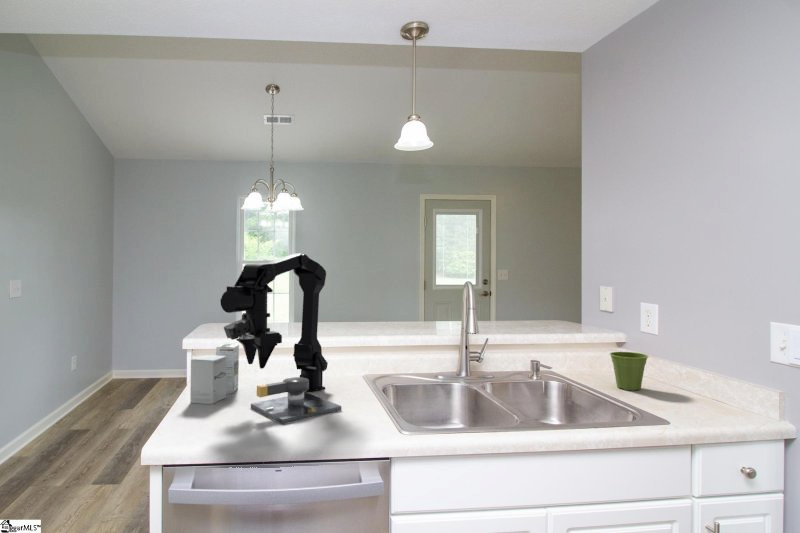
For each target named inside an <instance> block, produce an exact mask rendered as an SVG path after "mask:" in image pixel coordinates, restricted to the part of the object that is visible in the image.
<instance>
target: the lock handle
mask: <svg viewBox="0 0 800 533" xmlns="http://www.w3.org/2000/svg"><path fill="white" fill-rule="evenodd" d="M307 390H309V379H307V378H301V377H300V376H298V377H297V376H296V377H289V378H284V379H283V381H278V382H274V383H266V384H261V385H256V396H257V397H259V398H264V397H268V396H273V395H277V394H278V395H279V394H285V393H288V392H289V393H298V392H304V393H305V392H307Z"/></svg>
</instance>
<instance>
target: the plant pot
mask: <svg viewBox="0 0 800 533" xmlns="http://www.w3.org/2000/svg"><path fill="white" fill-rule="evenodd" d="M609 355H610V358H611V362H612V364H613V370H614V377H615V384H616V387H617V388H618V389H622V390H625V391H631V392H634V391H641V389H642V384H643V377H644V371H645V366H646V364H647V361H648V358H649V354H648V355H647V353H646V354H645V353H641V352H632V351H612V352H609Z"/></svg>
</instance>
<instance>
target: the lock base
mask: <svg viewBox="0 0 800 533" xmlns="http://www.w3.org/2000/svg"><path fill="white" fill-rule="evenodd" d="M250 409H252V410H254V411H256V412H257V413H259V414H262V415H264V416H265V417H268V418H269V419H271V420H274V421H275V422H276V423H279V424H281V425H285V424H288V423H289V424H290V423H294V422H298V421H301V420H306V419H310V418H314V417H319V416H323V415H326V414H327V415H328V414H332V413H336V412H340V411H341V412H342V405H339V404H338V403H335V402H331V401H329V400H327V399H324V398H321V397H319V396H316V395H315V394H311V393H309V392H305V391H304V392H298V393H289V392H287V396H284V397H278V398H271V399H269V400H268V399H267V400H263V401H262V400H261V401H257V402H252V403H250Z"/></svg>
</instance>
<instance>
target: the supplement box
mask: <svg viewBox="0 0 800 533" xmlns="http://www.w3.org/2000/svg"><path fill="white" fill-rule="evenodd" d="M226 357H227V356H216V355H215V354H214V355H211V354H210V355H209V354H207V355H202V356H199V357H194V358H193V359H190V392H189V393H190V399H189V400H190V402H189V403H192V404H193V403H194V404H203V405H205V404H206V405H213V404H215V403H217V402H219V401H221V400H223V399H226V398H227V394H226Z"/></svg>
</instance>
